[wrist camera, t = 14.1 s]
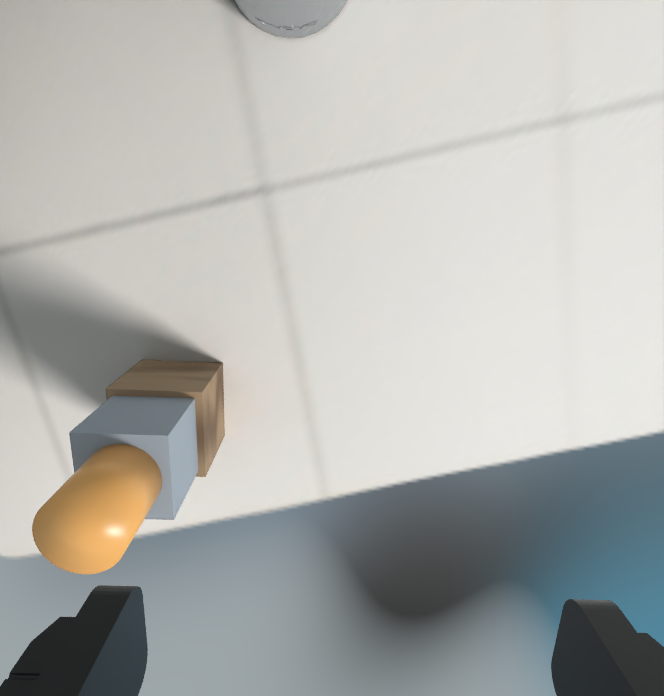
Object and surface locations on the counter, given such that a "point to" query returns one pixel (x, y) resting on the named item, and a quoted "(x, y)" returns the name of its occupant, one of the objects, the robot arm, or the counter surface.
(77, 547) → the orange rounded cylinder
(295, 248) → the counter surface
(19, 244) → the counter surface
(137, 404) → the grey top cube
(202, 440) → the walnut base cube
